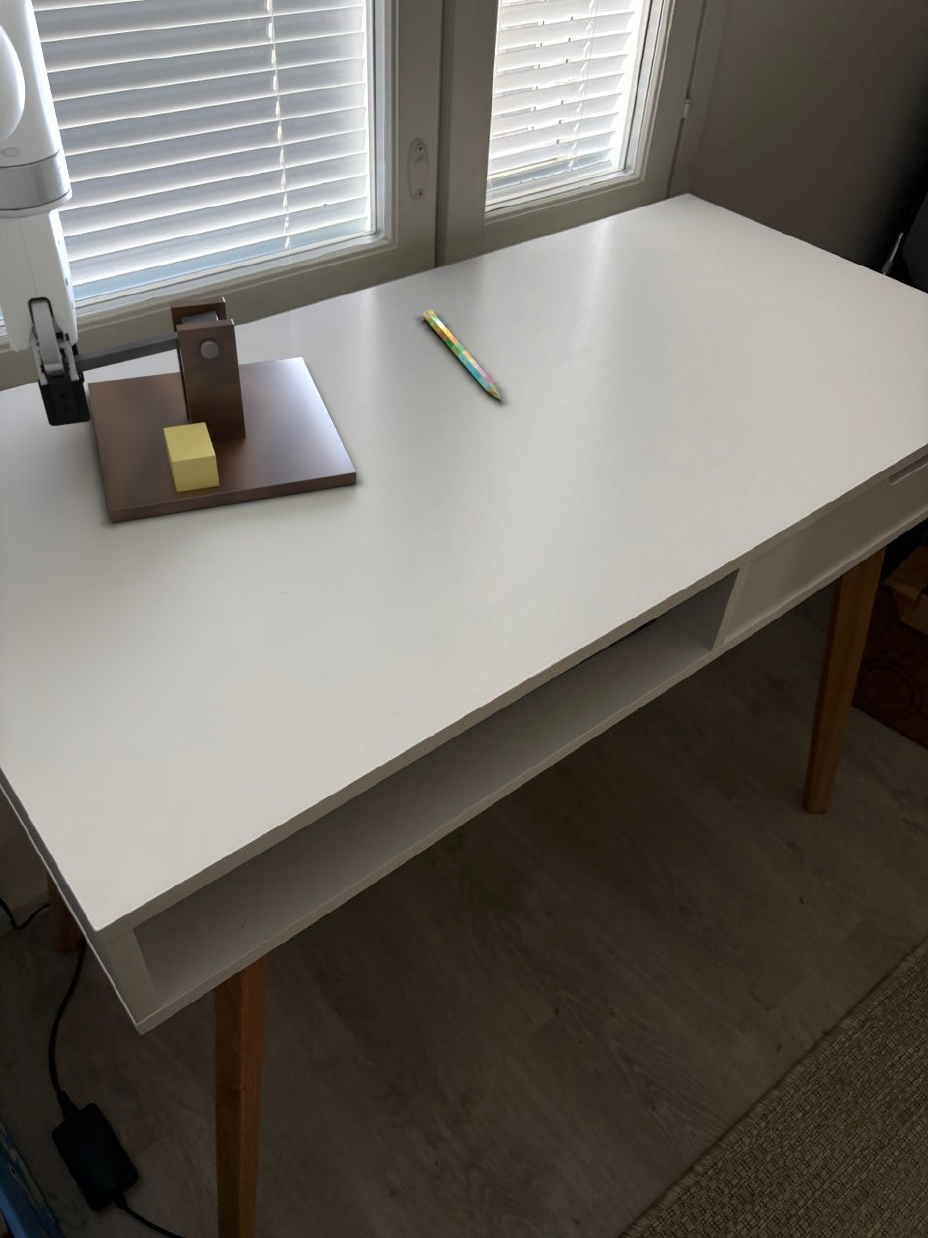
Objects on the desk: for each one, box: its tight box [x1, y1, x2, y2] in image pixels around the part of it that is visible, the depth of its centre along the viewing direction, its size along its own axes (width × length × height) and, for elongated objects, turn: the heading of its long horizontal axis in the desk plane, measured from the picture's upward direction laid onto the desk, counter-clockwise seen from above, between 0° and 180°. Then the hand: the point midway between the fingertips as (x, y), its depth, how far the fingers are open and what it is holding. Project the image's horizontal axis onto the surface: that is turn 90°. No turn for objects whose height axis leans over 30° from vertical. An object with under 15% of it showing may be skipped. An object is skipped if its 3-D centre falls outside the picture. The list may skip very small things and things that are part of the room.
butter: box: [163, 423, 219, 492], centre depth 83 cm, size 5×3×3 cm
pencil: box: [422, 309, 502, 401], centre depth 102 cm, size 1×1×18 cm
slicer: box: [87, 296, 357, 524], centre depth 86 cm, size 20×20×12 cm
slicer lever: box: [59, 311, 218, 373], centre depth 82 cm, size 14×5×2 cm, turn 109°
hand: (67, 400), depth 83 cm, fingers closed on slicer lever, 5 cm apart
